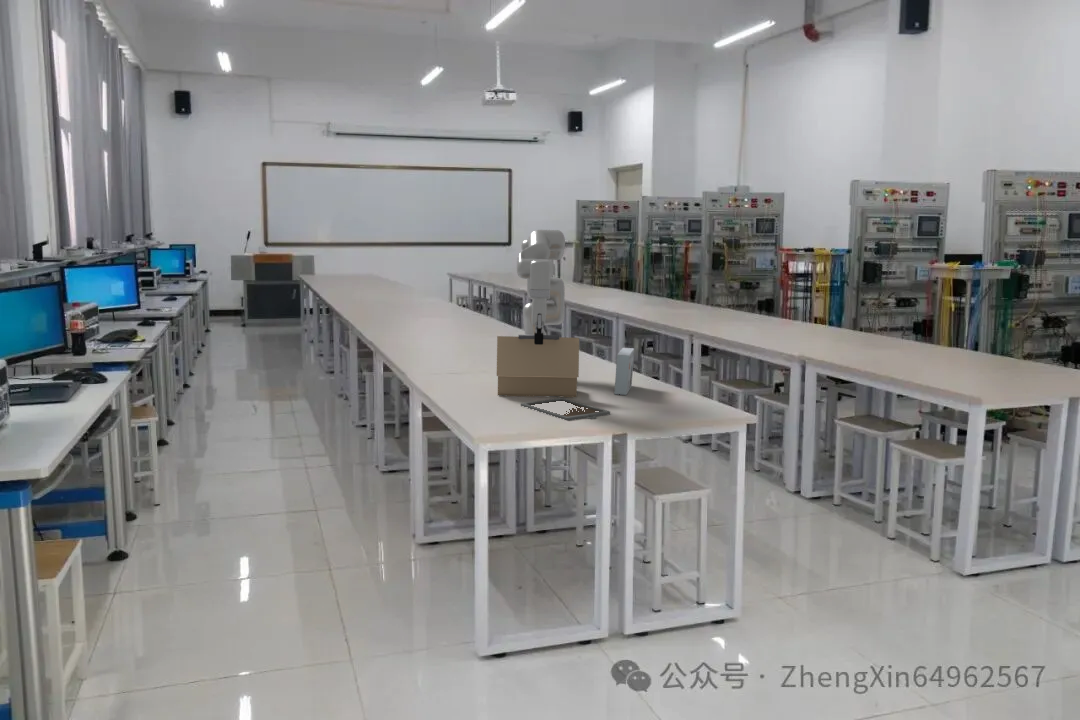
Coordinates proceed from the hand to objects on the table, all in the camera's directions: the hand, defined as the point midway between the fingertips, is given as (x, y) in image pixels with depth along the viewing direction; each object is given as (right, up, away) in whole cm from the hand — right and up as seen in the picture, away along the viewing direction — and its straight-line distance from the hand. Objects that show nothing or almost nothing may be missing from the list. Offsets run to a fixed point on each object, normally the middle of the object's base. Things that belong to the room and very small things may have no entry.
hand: (538, 343), depth 317 cm
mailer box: (-1, -19, +16) cm, 25 cm away
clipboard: (+10, -25, -14) cm, 30 cm away
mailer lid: (0, -5, +8) cm, 9 cm away
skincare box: (+34, -18, +25) cm, 46 cm away
